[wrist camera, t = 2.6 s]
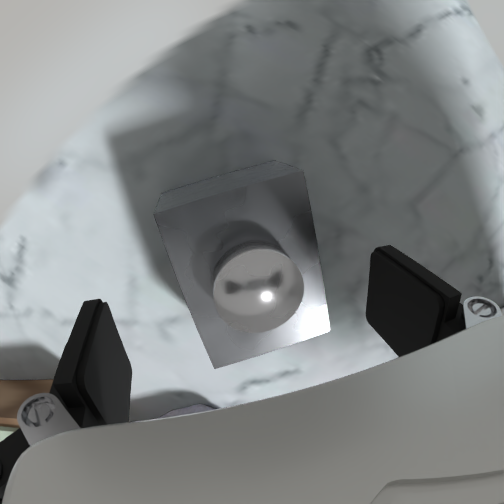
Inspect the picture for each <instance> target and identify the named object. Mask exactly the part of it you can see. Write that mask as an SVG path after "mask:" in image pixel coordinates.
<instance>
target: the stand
mask: <svg viewBox="0 0 504 504" xmlns="http://www.w3.org/2000/svg"><path fill="white" fill-rule="evenodd" d="M53 380H54V379H50V380H0V442H1V441H2V440H4V439H5V438H6V437H8V436H9V435H11V434H12V433H13V432H15V431H16V430H17V429H19V428H20V426H19V424H18V421H17V413H18V410H19V408H20V406H21V405H22V404H23V402H24V401H25V400H27V399H28V398H29V397H31V396H33V395H35V394H39V393H49V392H50V389H51V386H52V383H53Z"/></svg>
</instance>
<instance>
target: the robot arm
mask: <svg viewBox="0 0 504 504" xmlns="http://www.w3.org/2000/svg"><path fill="white" fill-rule="evenodd" d="M461 294H462V293H460V292H459V291H458V290H456V289H455V288H453V287H452V286H451V285H449V284H448V283H446V282H445V281H443V280H442V279H441V278H439V277H438V276H436V275H435V274H433V273H432V272H430V271H429V270H427V269H426V268H425V267H423V266H422V265H420V264H419V263H417V262H416V261H414V260H413V259H411V258H410V257H408V256H407V255H405V254H404V253H402V252H400V251H399V250H397V249H396V248H394V247H393V246H391V245H387V246H382V247H377V248H376V249H375V250H374V252H373V253H372V254H371V259H370V273H369V285H368V296H367V306H366V319H367V321H368V323H369V324H370V325H371V326H372V327H373V328H374V329H375V331H376V332H377V333H378V334H379V335H380V336H381V337H382V338H383V339H384V341H385V342H386V343H387V344H388V345H389V346H390V347H391V348H392V349H393V351H394V352H395V353H396V354H397V355H398V356H399V357H398V358H396V359H393V360H390V361H388V362H385V363H382V364H380V365H377V366H374V367H371V368H369V369H366V370H363V371H360V372H357V373H354V374H351V375H348V376H345V377H342V378H339V379H335V380H332V381H329V382H326V383H322V384H319V385H316V386H312V387H309V388H305V389H302V390H298V391H294V392H290V393H287V394H283V395H279V396H275V397H271V398H267V399H262V400H258V401H254V402H249V403H245V404H240V405H235V406H230V407H225V408H220V409H215V410H210V411H204V412H198V413H193V414H186V415H180V416H173V417H166V418H158V419H150V420H142V421H134V422H129V406H130V392H131V380H132V368H131V364H130V361H129V359H128V356H127V354H126V351H125V349H124V346H123V344H122V341H121V339H120V336H119V333H118V331H117V328H116V325H115V322H114V320H113V317H112V314H111V311H110V308H109V306H108V304H107V302H104V303H103V302H102V300H101V299H95V300H89V301H84V303H83V305H82V307H81V310H80V312H79V314H78V317H77V319H76V322H75V324H74V327H73V329H72V332H71V335H70V337H69V340H68V342H67V344H66V346H65V348H64V351H63V354H62V357H61V359H60V362H59V365H58V368H57V371H56V374H55V377H54V380H53V383H52V386H51V389H50V392H49V393H39V394H35V395H33V396H31V397H29V398H28V399H27V400H25V401H24V402H23V404H22V405H21V406H20V408H19V410H18V413H17V421H18V424H19V426H20V428H19V429H17V430H16V431H15V432H13V433H12V434H11V435H9V436H8V437H6V438H5V439H4V440H2V441H1V442H0V504H504V308H501V309H500V308H499V306H498V305H497V304H496V303H495V302H493V301H492V300H490V299H488V298H485V297H480V296H473V297H469V298H467V299H466V300H465V301H464V303H463V305H462V304H461V303H459V302H460V298H461Z"/></svg>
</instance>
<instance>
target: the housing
mask: <svg viewBox="0 0 504 504" xmlns="http://www.w3.org/2000/svg"><path fill="white" fill-rule="evenodd" d="M154 217H155V220H156V222H157V225H158V228H159V231H160V234H161V237H162V239H163V242H164V245H165V248H166V251H167V253H168V256H169V259H170V261H171V264H172V267H173V269H174V272H175V275H176V277H177V280H178V282H179V285H180V288H181V290H182V293H183V295H184V298H185V300H186V303H187V305H188V308H189V310H190V313H191V315H192V318H193V320H194V323H195V325H196V327H197V330H198V332H199V334H200V337H201V339H202V342H203V344H204V346H205V349H206V351H207V353H208V355H209V358H210V360H211V362H212V365H213V367H214V369H216V368H220V367H223V366H227V365H230V364H233V363H237V362H240V361H243V360H247V359H250V358H253V357H256V356H259V355H262V354H266V353H269V352H272V351H275V350H278V349H281V348H284V347H287V346H290V345H293V344H295V343H298V342H301V341H304V340H307V339H310V338H312V337H315V336H318V335H321V334H323V333H326V332H329V331H330V323H329V316H328V309H327V302H326V295H325V289H324V282H323V276H322V270H321V263H320V257H319V251H318V246H317V240H316V234H315V229H314V223H313V218H312V212H311V207H310V202H309V197H308V192H307V187H306V182H305V177H304V172H303V170H300V169H298V168H295V167H292V166H290V165H287V164H284V163H281V162H278V161H276V160H275V161H271V162H267V163H263V164H260V165H256V166H252V167H248V168H245V169H241V170H237V171H234V172H230V173H227V174H223V175H220V176H216V177H213V178H210V179H206V180H203V181H199V182H196V183H193V184H190V185H186V186H183V187H180V188H177V189H174V190H171V191H167V192H164V193H162V194H161V196H160V199H159V201H158V204H157V207H156V209H155V212H154Z"/></svg>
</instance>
